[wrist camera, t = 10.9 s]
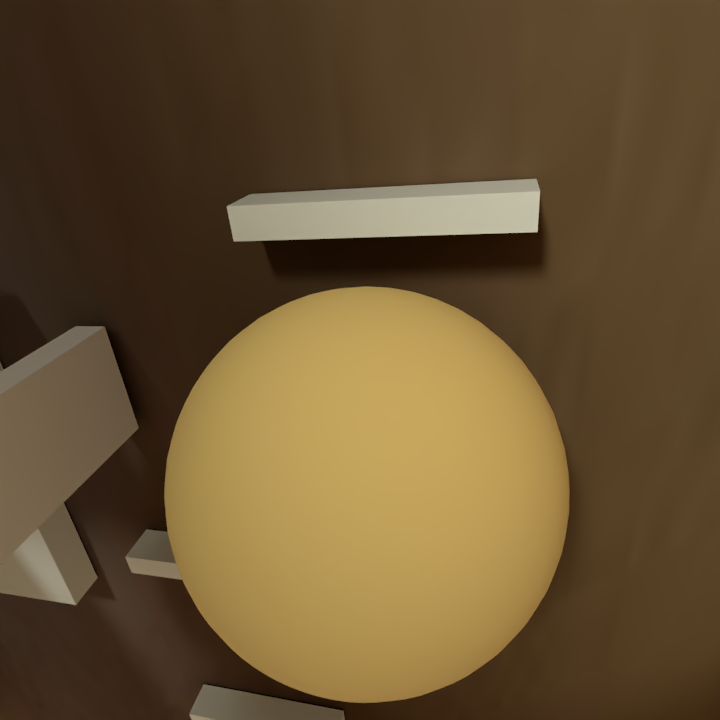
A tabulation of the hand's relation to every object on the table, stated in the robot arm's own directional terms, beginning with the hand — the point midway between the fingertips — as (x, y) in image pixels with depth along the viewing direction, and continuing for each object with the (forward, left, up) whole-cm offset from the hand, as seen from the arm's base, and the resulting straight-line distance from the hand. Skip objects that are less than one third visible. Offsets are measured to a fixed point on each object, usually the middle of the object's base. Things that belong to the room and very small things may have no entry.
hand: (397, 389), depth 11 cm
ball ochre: (0, 0, 0) cm, 0 cm away
